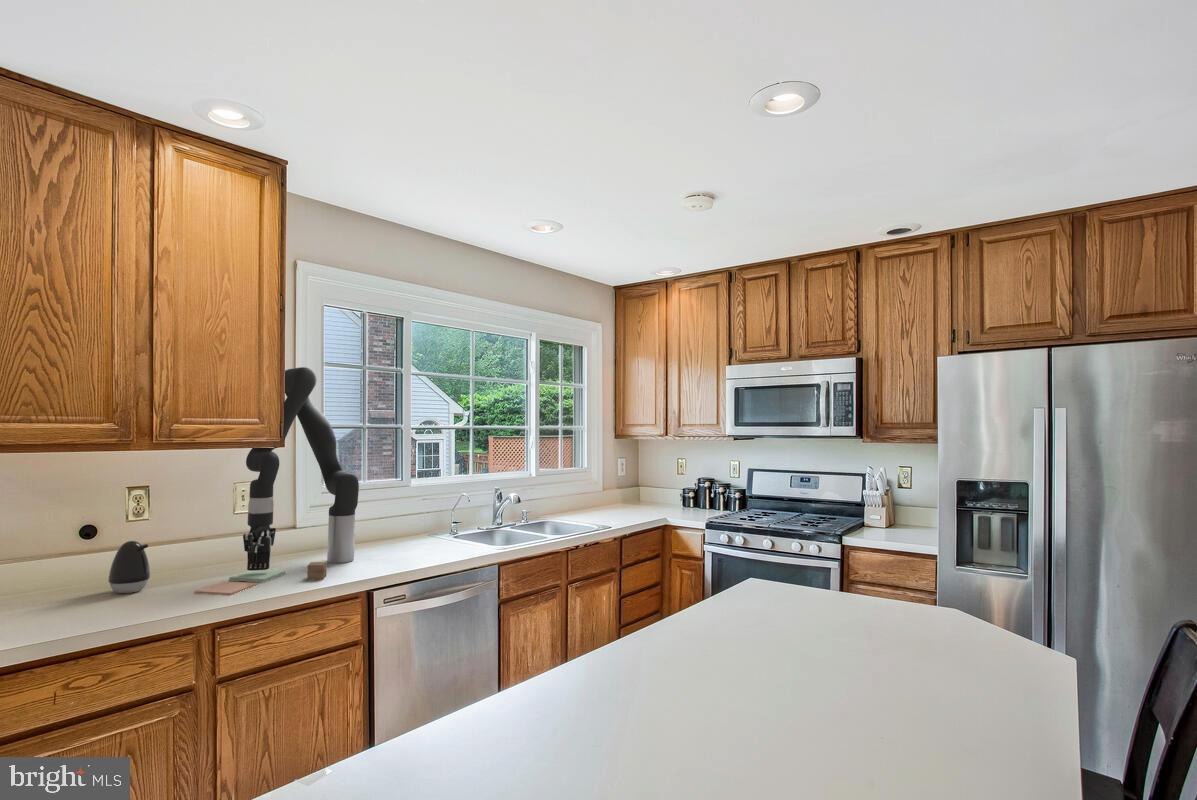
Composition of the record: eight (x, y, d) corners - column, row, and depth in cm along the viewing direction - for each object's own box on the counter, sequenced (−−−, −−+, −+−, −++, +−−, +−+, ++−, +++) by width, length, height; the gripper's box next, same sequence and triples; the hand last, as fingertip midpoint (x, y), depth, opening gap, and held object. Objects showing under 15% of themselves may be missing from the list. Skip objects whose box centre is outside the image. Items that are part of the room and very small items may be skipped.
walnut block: (310, 576, 216) (310, 562, 216) (326, 576, 217) (326, 561, 217) (307, 580, 211) (307, 565, 211) (323, 580, 212) (323, 564, 212)
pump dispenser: (132, 596, 188) (134, 544, 188) (98, 595, 189) (101, 543, 189) (158, 587, 198) (160, 538, 199) (126, 586, 199) (128, 537, 199)
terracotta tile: (223, 585, 205) (223, 581, 205) (257, 587, 203) (257, 583, 203) (194, 594, 193) (194, 590, 193) (230, 597, 191) (230, 593, 191)
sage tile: (253, 572, 220) (253, 568, 220) (285, 574, 218) (286, 570, 218) (229, 580, 208) (229, 577, 208) (263, 582, 206) (263, 579, 206)
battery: (244, 571, 210) (246, 536, 211) (247, 569, 214) (248, 534, 214) (268, 570, 212) (270, 536, 213) (270, 568, 216) (271, 534, 216)
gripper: (264, 507, 221) (262, 557, 221) (235, 513, 207) (233, 566, 207) (284, 508, 221) (282, 558, 220) (257, 514, 206) (255, 567, 206)
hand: (258, 561), depth 213 cm, fingers closed on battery, 5 cm apart
